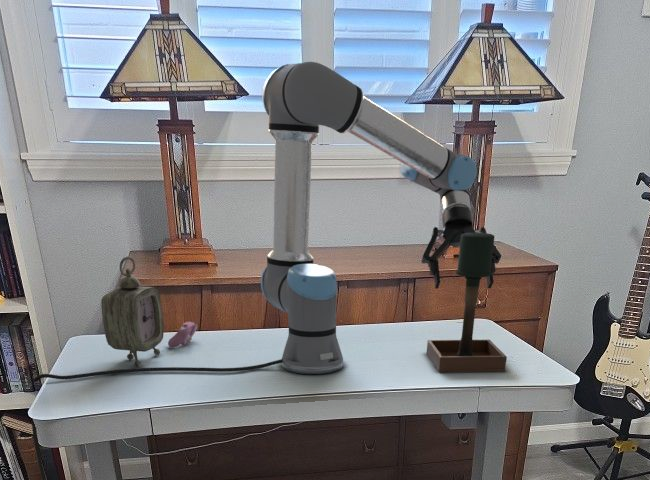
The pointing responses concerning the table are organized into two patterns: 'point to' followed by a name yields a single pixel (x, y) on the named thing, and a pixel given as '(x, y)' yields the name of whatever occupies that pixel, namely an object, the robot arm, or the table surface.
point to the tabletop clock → (133, 316)
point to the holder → (481, 360)
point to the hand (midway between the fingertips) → (464, 285)
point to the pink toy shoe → (183, 335)
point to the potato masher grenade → (473, 279)
